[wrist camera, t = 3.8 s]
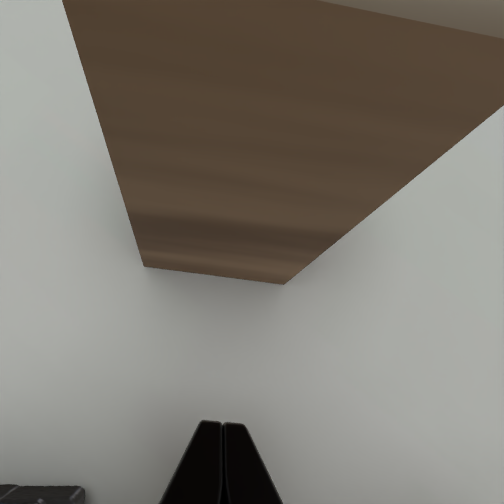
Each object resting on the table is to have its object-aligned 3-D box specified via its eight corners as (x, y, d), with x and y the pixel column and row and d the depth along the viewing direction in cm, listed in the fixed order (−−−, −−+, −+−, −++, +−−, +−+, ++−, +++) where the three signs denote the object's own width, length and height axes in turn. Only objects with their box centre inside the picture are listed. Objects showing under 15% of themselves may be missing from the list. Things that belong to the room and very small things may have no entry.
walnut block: (283, 284, 17) (668, -30, 4) (144, 266, 17) (4, -189, 3) (294, 158, 18) (608, -410, 5) (164, 137, 18) (130, -576, 4)
